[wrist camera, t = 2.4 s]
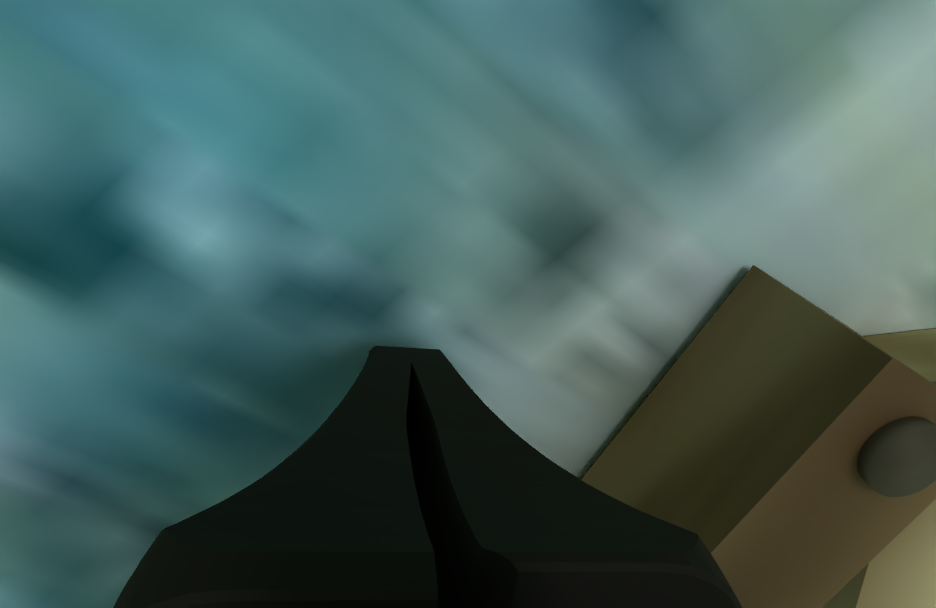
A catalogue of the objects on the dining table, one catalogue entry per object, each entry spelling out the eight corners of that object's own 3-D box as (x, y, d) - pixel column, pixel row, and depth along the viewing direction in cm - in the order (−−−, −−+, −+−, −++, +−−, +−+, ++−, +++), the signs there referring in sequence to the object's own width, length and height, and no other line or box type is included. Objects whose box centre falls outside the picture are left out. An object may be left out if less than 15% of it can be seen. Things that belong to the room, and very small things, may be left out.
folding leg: (846, 325, 14) (1021, 442, 10) (588, 616, 17) (649, 793, 13) (753, 264, 13) (906, 368, 9) (496, 584, 16) (533, 763, 12)
